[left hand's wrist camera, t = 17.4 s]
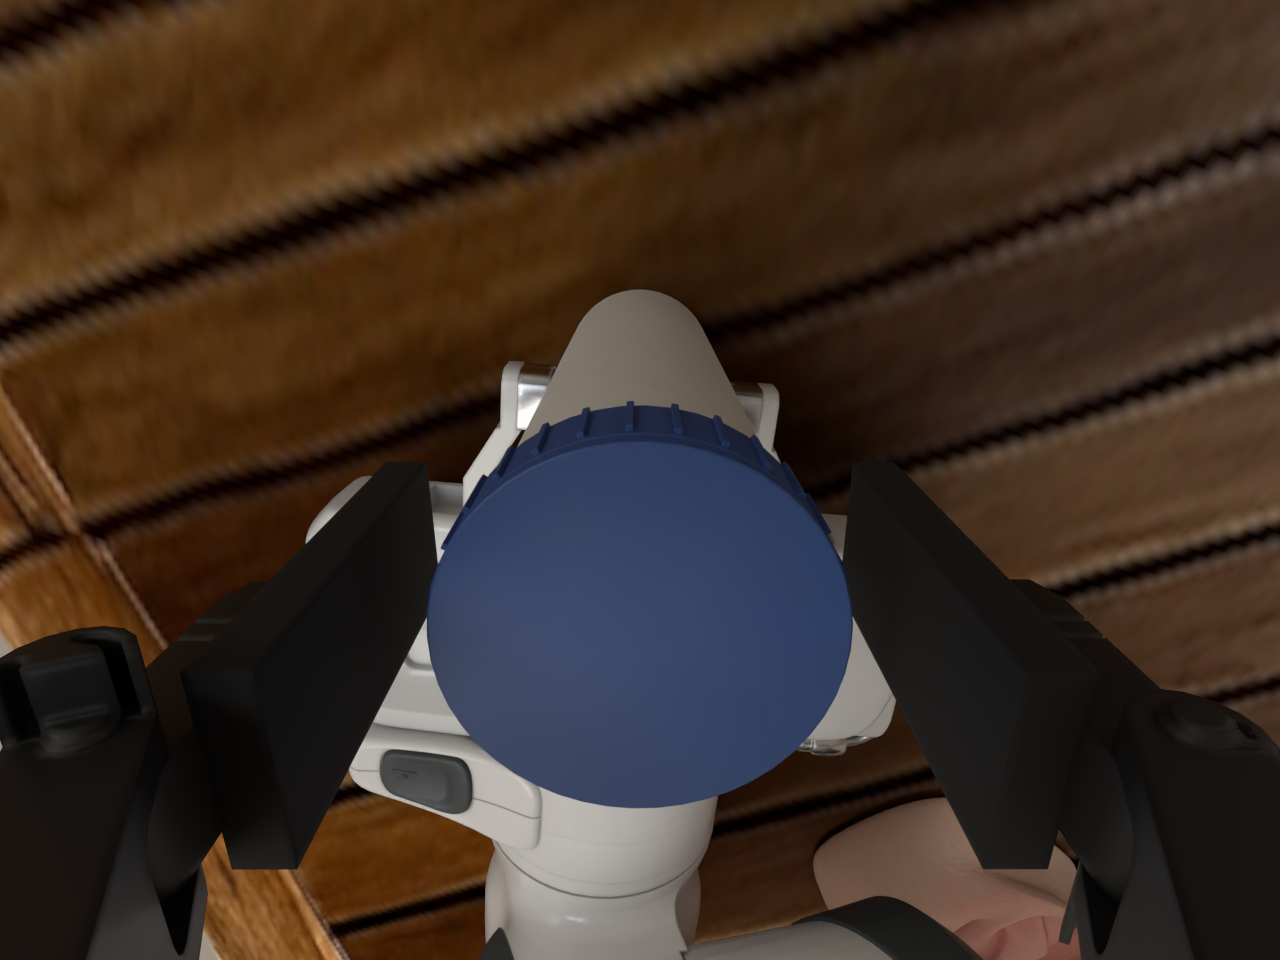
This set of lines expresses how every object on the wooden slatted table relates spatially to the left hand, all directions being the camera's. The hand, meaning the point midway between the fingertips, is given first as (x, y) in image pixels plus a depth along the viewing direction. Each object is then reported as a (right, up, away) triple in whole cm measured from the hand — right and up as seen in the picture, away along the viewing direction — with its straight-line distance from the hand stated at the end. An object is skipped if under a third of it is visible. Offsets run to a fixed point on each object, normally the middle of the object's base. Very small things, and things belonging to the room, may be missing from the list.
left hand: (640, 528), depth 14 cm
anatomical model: (+16, -20, +25) cm, 36 cm away
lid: (0, -1, -3) cm, 4 cm away
